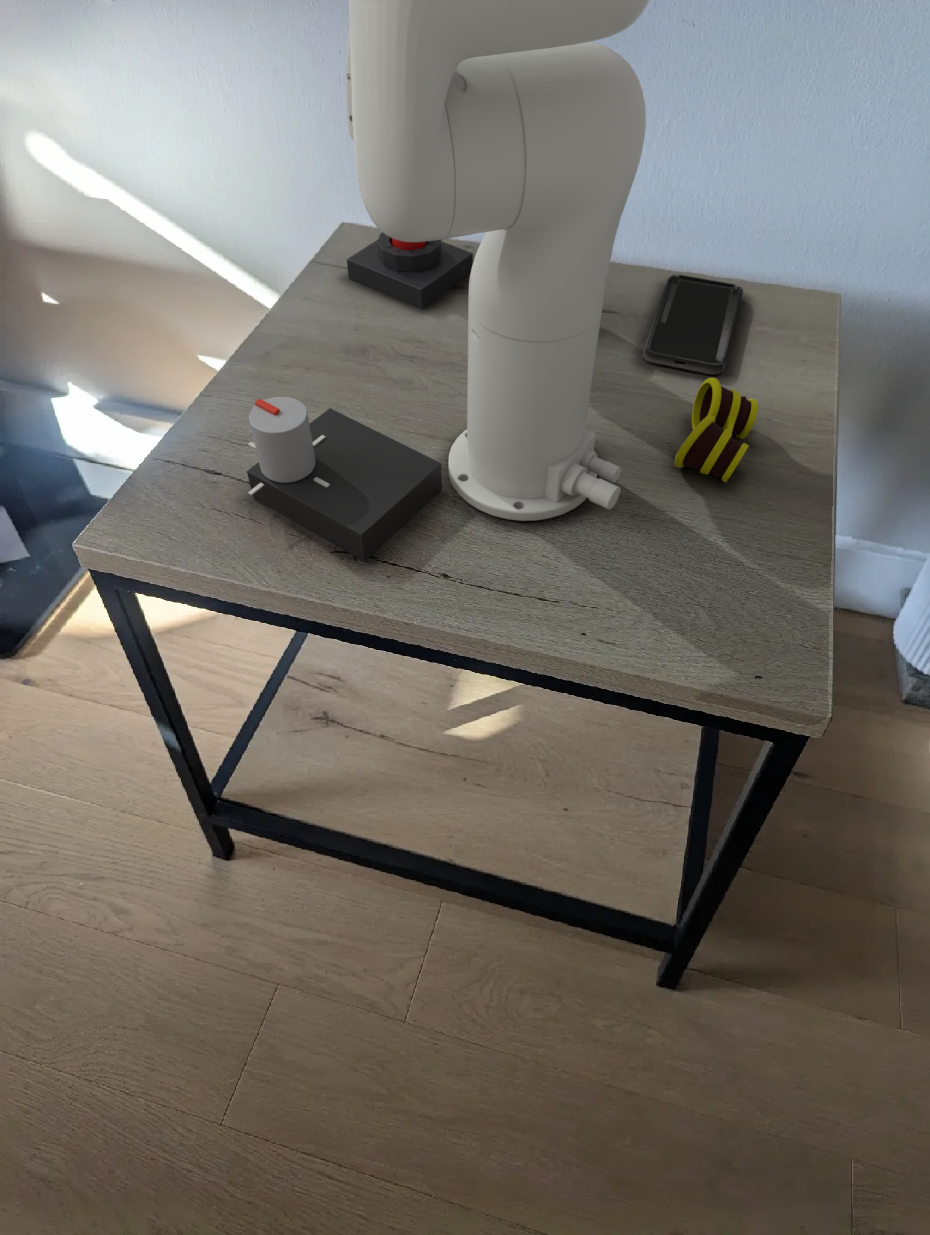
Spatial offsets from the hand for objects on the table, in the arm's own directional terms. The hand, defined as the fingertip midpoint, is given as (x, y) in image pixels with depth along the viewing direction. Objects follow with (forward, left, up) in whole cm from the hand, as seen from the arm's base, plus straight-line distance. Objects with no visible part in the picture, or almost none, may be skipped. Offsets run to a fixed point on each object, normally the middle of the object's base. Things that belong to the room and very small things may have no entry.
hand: (407, 220), depth 89 cm
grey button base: (0, 0, -6) cm, 6 cm away
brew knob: (-13, +33, -3) cm, 35 cm away
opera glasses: (-39, +7, -6) cm, 40 cm away
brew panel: (-16, +31, -6) cm, 35 cm away
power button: (0, 0, -2) cm, 2 cm away
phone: (-29, -9, -6) cm, 31 cm away
